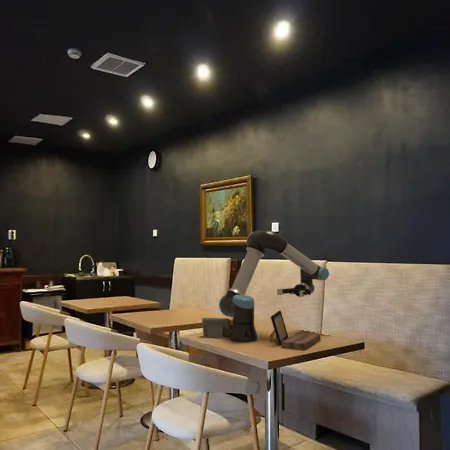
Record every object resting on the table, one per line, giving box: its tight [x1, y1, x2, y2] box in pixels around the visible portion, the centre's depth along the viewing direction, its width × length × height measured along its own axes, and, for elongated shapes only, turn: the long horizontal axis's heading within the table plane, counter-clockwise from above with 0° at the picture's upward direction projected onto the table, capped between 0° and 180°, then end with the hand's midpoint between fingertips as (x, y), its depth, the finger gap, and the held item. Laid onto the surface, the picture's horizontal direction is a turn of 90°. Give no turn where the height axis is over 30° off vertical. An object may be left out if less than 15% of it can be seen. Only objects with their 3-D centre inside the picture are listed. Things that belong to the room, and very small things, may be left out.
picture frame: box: [268, 310, 289, 347], centre depth 234 cm, size 23×9×15 cm, turn 163°
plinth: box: [280, 332, 321, 351], centre depth 226 cm, size 12×28×3 cm, turn 152°
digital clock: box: [201, 317, 232, 339], centre depth 245 cm, size 16×9×11 cm, turn 68°
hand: (288, 293), depth 248 cm, fingers open, 13 cm apart
